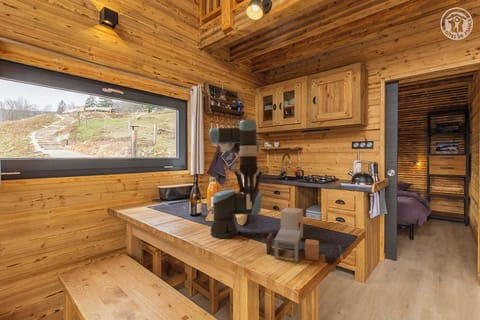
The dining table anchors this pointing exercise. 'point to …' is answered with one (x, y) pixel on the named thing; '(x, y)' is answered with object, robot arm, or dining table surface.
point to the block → (312, 249)
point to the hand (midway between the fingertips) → (249, 208)
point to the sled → (288, 251)
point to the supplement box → (292, 219)
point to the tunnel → (288, 241)
